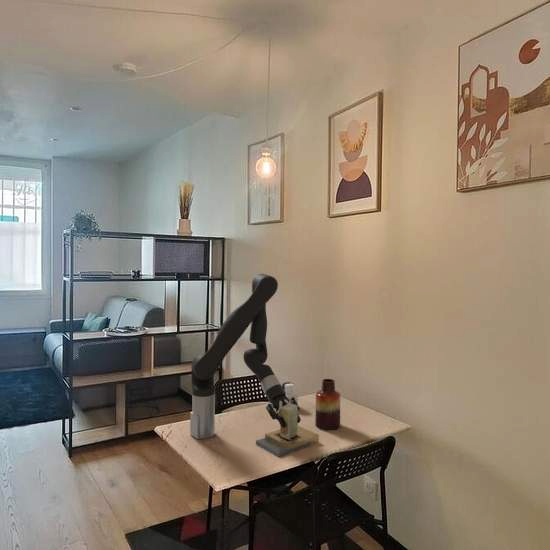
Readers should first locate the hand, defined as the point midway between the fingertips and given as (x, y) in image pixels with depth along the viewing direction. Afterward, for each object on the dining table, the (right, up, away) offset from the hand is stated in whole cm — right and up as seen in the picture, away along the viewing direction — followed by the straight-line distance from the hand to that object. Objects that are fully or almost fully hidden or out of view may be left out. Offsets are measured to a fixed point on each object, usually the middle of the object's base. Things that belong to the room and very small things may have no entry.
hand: (292, 424), depth 175 cm
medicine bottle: (0, -7, +44) cm, 45 cm away
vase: (+16, -8, +20) cm, 27 cm away
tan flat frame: (-2, -8, +2) cm, 8 cm away
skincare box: (-1, -5, +2) cm, 6 cm away
